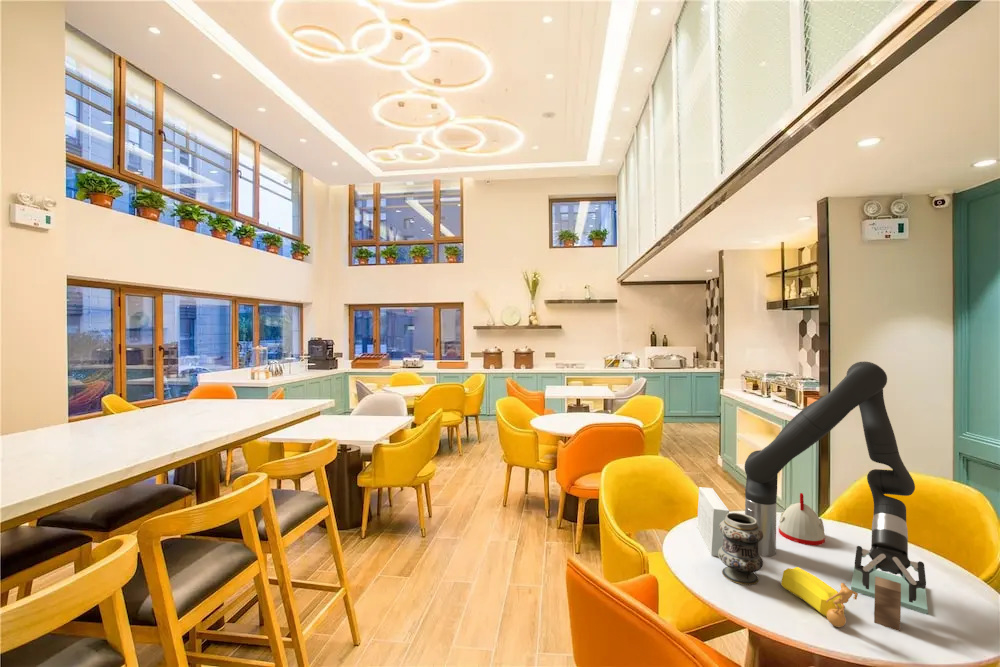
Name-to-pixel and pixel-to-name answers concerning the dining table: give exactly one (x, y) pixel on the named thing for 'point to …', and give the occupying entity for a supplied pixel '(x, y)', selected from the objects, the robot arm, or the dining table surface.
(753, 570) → the apothecary jar
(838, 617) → the figurine
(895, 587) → the walnut block
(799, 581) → the yellow faceted bar
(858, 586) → the teal board
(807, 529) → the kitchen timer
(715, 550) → the skincare box
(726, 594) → the dining table surface
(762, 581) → the dining table surface
